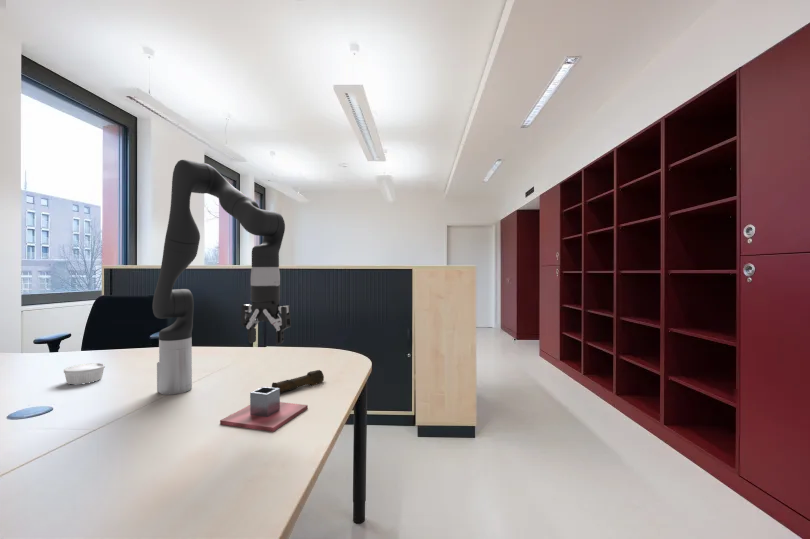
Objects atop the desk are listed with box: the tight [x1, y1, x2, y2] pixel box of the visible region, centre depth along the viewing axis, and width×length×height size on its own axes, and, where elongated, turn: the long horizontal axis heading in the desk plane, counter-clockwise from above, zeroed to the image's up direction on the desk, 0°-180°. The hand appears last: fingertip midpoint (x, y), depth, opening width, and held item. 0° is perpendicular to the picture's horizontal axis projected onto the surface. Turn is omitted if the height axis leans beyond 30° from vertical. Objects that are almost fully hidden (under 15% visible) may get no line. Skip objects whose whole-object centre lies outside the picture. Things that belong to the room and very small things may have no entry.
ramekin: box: [63, 362, 106, 385], centre depth 137 cm, size 11×11×5 cm
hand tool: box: [271, 369, 325, 394], centre depth 129 cm, size 19×4×5 cm, turn 135°
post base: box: [219, 401, 309, 433], centre depth 105 cm, size 16×16×6 cm
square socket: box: [249, 386, 281, 417], centre depth 105 cm, size 5×5×6 cm
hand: (265, 343), depth 105 cm, fingers open, 8 cm apart
